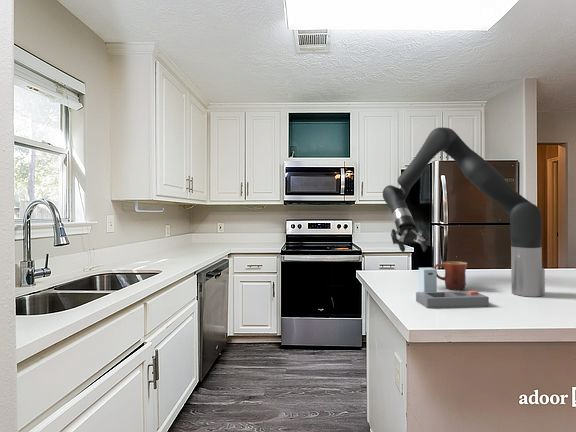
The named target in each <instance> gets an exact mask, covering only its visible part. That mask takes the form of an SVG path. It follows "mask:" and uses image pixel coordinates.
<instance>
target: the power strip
mask: <svg viewBox="0 0 576 432" xmlns="http://www.w3.org/2000/svg"><path fill="white" fill-rule="evenodd" d="M489 299H490V298H489V296H488V295H484V294H482V293H479V292H478V291H477V290H476V291H475V290H459V291H457V290H449V291H437V292H419V291H418V292H415V301H416V302H417V304H418V303H419V304H420V305H421V306H423V307H425V308H427V309H436V308H437V309H439V308H442V309H443V308H444V309H445V308H475V307H477V308H479V307H480V308H481V307H489V305H490V304H489V303H490V301H489Z"/></svg>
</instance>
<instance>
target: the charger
mask: <svg viewBox="0 0 576 432" xmlns="http://www.w3.org/2000/svg"><path fill="white" fill-rule="evenodd" d="M437 270H438V269H437V268H436V269H434V267H418V292H438V288H437V287H438V285H437V283H438V282H437V280H438V279H437V274H438V271H437Z"/></svg>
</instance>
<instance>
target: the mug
mask: <svg viewBox="0 0 576 432" xmlns="http://www.w3.org/2000/svg"><path fill="white" fill-rule="evenodd" d="M437 267H442V268H443V270H444V276H440V275H439V274H438V273H437V278H438V280H442V281H444V287H445V288H446V289H447V290H449V291H457V290H459V291H465V289H466V284H467V281H466V280H467V279H466V270H467V267H468V262H464V261H451V260H450V261H443V262H442V263H437V264H435V265H434V267H433V268H434V269H437Z"/></svg>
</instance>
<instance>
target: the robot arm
mask: <svg viewBox="0 0 576 432" xmlns="http://www.w3.org/2000/svg"><path fill="white" fill-rule="evenodd" d="M440 152H444V153H445V154H446V155H448V156H449V157H450V158H452V160H454V161H455V163H456V164H457V166H458V167H459V169H460V170H461V172H462V173H463V175H464V177H465V178H466V179H467V180H468V181H469V182H470V183H471V184H472V185H473V186H475V187H476V189H477V190H479V191H480V192H482V193H483V194H484V195H486V196H487V197H488V198H490V199H491V200H493V201H494V202H496V203H497V204H498V205H499V206H500V207H501V208H502V210H504V212H505V213H507V215H508V216H509V218H510V219H509V221H510V223H509V224H510V225H509V226H510V228H509V229H510V250H511V251H510V252H511V253H510V254H511V255H510V259H511V260H510V263H511V264H510V267H511V269H510V270H511V271H510V272H511V282H510V283H511V288H510V289H511V294H514V295H517V296H523V297H530V298H531V297H535V298H537V297H541V296H545V293H546V285H545V283H546V282H545V280H546V278H545V276H546V273H545V272H546V271H545V268H544V267H543V263H542V262H543V260H542V259H543V256H542V255H543V254H542V253H543V251H542V249H543V248H542V243H543V241H542V240H543V239H542V238H543V237H542V232H543V231H542V230H543V229H542V227H543V226H542V211H541V209H540V208H539V207H538V206H537V205H536V204H534V203H532V202H531V201H529V200H528V199H526V198H525V197H524V196H523V195H521V194H520V193H519V192H517V191H516V190H515V189H514V188H513V187H512V186H511V184H510V183H509V182H508V181H507V180H506V178H505V177H504V176H503V175H502V174H501V173H500V172H499V171H498V170H496V168H494V167H493V166H492V164H490V163H489V162H488V161H487V160H486V159H484V158H483V157H482V156H480V155H479V154H478V153H477V152H476V151H474V150H472V149H471V148H470V147H469V145H467V144H466V142H464V141H463V140H462V138H461V137H460V136H459V135H458V133H456V131H455V130H453V129H452V128H450V127H442V126H440V127H436V128H434V129H433V130H432V131H431V132H430V133H429V134H428V135H427V137H426V139H425V141H424V142H423V144H422V146H421V147H420V149H419V151H418V153H416V155H415V157H414V158H413V159H412V161H411V162H410V163H409V165H407V166H406V168H405V169H404V170H403V172H402V173H401V174H400V175H399V176H398V178H397V183H398V186H400V187H397V186H394V185H392V184H390V185H389V184H388V185H387V186H385V187H384V189H383V190H382V198H383V200H384V201H385V204H386V206H388V207H389V209H390V212H391V214H392V217H393V222H394V225H395V228H396V229H394V228H392V229H391V233H390V236H391V237H390V238H391V241H392V244H393V245H398V247H399V251H401V252H402V253H404V252H405V251H406V246H405V244H404V241H415V242H416V243H419V244H420V247H421V249H422V252H426V251H427V250H428V242H429V241H430V237H429V235H428V233H427V231H426V229H425V228H422V229H419V230H418V229H417V225H416V224H415V221H414V218H413V216H412V213H411V212H410V210H409V207H408V205H407V204H408V203H406V199H407V198H408V195H409V194H410V190H411V189H412V187H413V186H414V184H416V183H417V182H418V180H419V179H420V178H421V177H422V175H423V174H424V172H425V170H426V169H427V166H428V164H429V163H430V162H431V161H432V160H433V159H434V158H435V156H436V155H438V154H439V153H440ZM397 235H398V236H399V239H398V237H397Z"/></svg>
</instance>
